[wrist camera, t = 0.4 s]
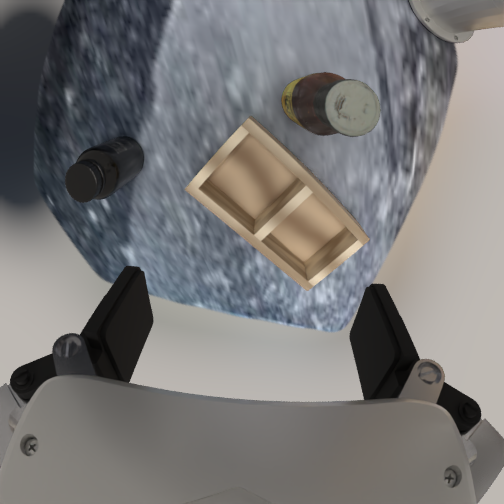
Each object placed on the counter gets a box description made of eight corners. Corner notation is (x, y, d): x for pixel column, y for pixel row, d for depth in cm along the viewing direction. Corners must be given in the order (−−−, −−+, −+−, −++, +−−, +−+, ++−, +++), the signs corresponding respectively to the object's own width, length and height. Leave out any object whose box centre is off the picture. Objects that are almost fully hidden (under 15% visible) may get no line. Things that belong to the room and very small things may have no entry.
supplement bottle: (97, 152, 37) (49, 174, 26) (130, 127, 35) (84, 140, 25) (119, 188, 40) (78, 220, 29) (153, 166, 38) (115, 192, 28)
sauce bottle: (270, 100, 33) (278, 95, 16) (305, 70, 31) (347, 39, 14) (305, 135, 35) (345, 168, 18) (339, 106, 33) (408, 115, 16)
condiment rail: (250, 115, 34) (248, 117, 29) (357, 221, 41) (369, 239, 36) (195, 176, 39) (184, 189, 34) (302, 268, 45) (307, 291, 40)
